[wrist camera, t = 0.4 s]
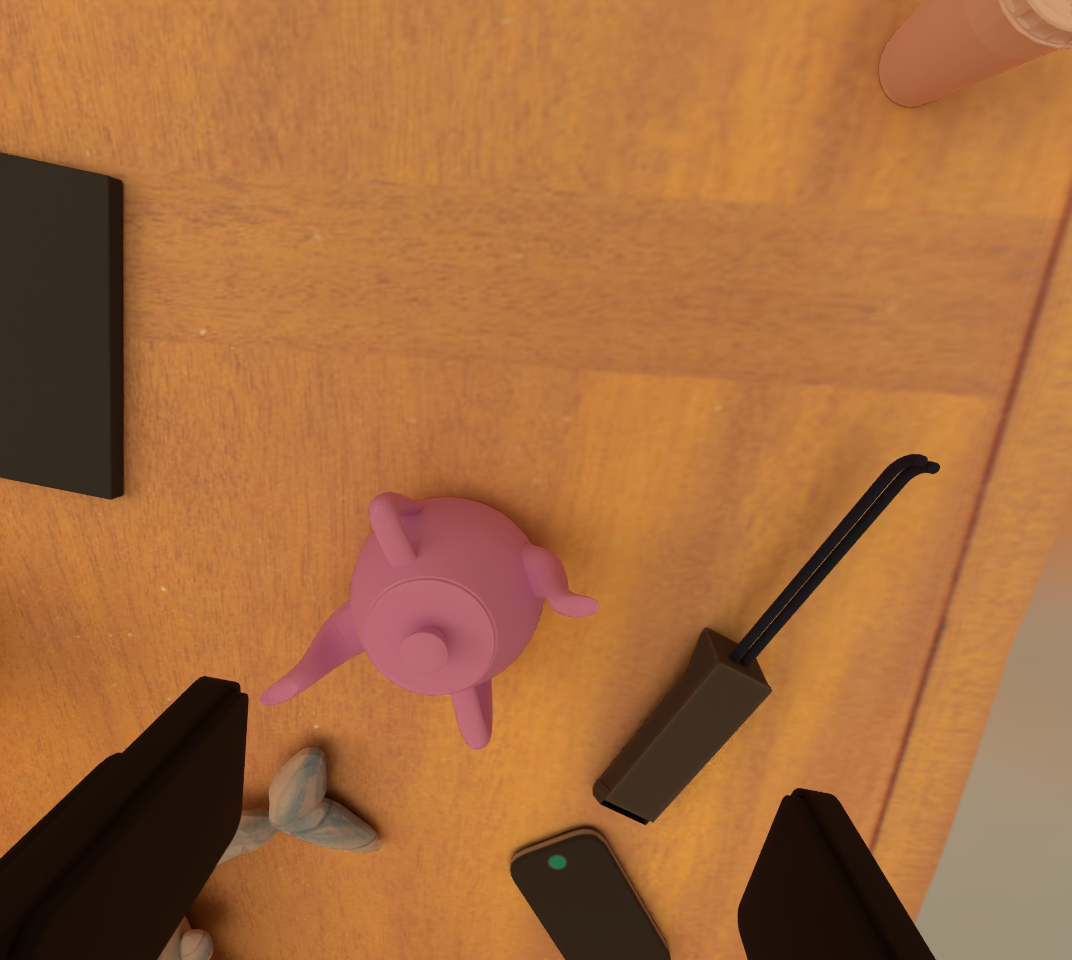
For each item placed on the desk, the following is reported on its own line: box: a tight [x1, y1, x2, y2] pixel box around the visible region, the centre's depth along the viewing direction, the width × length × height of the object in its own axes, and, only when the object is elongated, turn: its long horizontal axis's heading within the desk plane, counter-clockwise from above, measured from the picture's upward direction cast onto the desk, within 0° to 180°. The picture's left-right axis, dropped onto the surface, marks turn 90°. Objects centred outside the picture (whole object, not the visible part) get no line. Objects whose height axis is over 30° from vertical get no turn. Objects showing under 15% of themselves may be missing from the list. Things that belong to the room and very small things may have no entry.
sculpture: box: [158, 747, 381, 960], centre depth 39 cm, size 18×8×25 cm
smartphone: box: [510, 828, 671, 960], centre depth 41 cm, size 8×1×15 cm
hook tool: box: [593, 454, 940, 825], centre depth 33 cm, size 4×4×30 cm
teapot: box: [260, 492, 600, 749], centre depth 30 cm, size 12×14×9 cm
